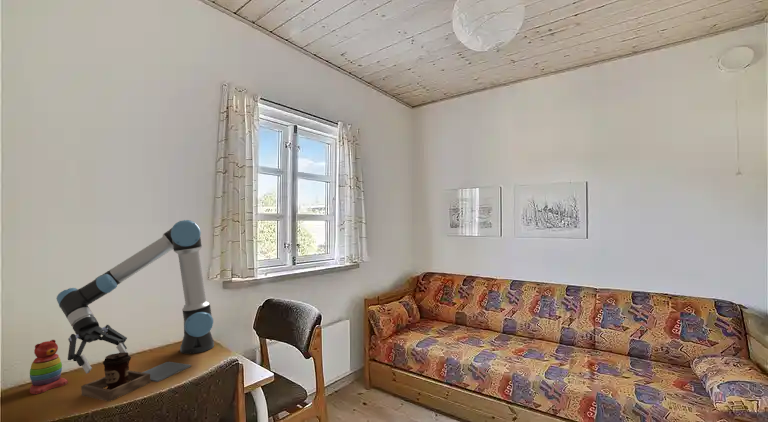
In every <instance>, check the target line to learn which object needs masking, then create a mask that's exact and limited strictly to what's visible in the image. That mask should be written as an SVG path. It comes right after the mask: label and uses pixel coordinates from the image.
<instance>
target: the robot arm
mask: <svg viewBox="0 0 768 422" xmlns="http://www.w3.org/2000/svg"><path fill="white" fill-rule="evenodd" d="M201 234H202V232H201V228H200V226H199V225H198V224H197V223H196V222H195V221H193V220H189V219H184V220H179V221H178V222H176V223H175V224H174V225H172V227H171V228H170V229H169V230H167V231H166V232H164V233H162V237H160V238H158V239H156V241H154V242H152V243H151V244H148V246H146V247H144V248H142V249H141V250H139V251H137V252H136V253H134V254H133V255H131V256H130V257H128V258H126V259H125V260H123V261H121V262H120V263H119V264H117V265H115V266H114V267H112V268H110V269H108V270H107V271H106V272H104V273H102V274H101V275H99V276H97V277H95V279H94V280H92V281H90V282H89V283H87V284H85V285H84V286H82V287H80V288H76V287H69V288H66V289H63V290H61V292H59V293H58V294H57V295H56V302H57V304H58V306H59V308H60V309H61V311H62V313H63V315H64V316H65V317H66V319H67V321H68V322H69V324H70V326H71V328H72V330H73V331H74V333H75V334H74V333H71V334H70V336H69V337H68V339H67V340H68V342H69V347H68V354H67V360H68V361H73V362H76V363H77V365H78V366H79V367H82V369H83V371H84V373H85V374H89V373H90V372H91V371H92V369H93V367H92V366H91V364H90V363H89V361H88V359H87V357H86V356H85V354H83V351H84V349H85V346H86V344H87V343H92V342H96V341H98V340H99V341H104V342H107V343H110V344H113V345H115V346H116V349H117V351H118V353H123V352H127V353H128V355H129V356H130V353H129V352H128V350H127V349H128V348H127V346H126V344H125V342H126V341H127V340H128V337H127V336H125V335H123V334H122V333H120V332H119V331H117V330H115V329H113V328H112V327H111V326H110V325H109V324H106V325H105V326H104V327H101V326H100V324H99V322H98V320H97V318H96V317H95V315H94V313H93V312H92V310H91V309H90V307H89V305H90V304H93V303H94V302H95V301H97V300H99V299H100V298H102V297H104V296H105V295H107V294H109V293H112V291H114V290H115V289H117V287H118V285H120V284H121V283H123V282H125V281H126V280H127V279H129V278H131V277H132V276H133V275H135V274H137V273H138V272H139V271H141V270H143V269H144V268H146V267H148V266H150V265H151V264H153V263H154V262H155V261H157V260H159V259H160V258H162V257H164V256H165V255H166V254H167V253H169V252H171V251H172V250H173V252H174V253H176V254H177V256H178V263H179V270H180V276H181V284H182V289H183V290H182V291H183V295H184V296H183V299H184V303H185V304H184V305H183V307H182V316H183V337H182V340H181V341H182V342H181V344H180V347H179V349H180V350H179V351H180V353H181V354H187V355H191V354H192V355H193V354H199V353H203V352H206V351H209V350H212V349H213V348H215V347H214V346H215V340H214V338H213V336H212V333H211V330H212V329H213V325H214V318H213V314H212V309H211V308H212V307H211V303H210V302H209V301H207V300H206V292H205V286H204V277H203V272H202V264H201V258H200V257H201V256H200V250H201V249H202V247H203V246H202V239H201ZM77 340H80V341H81V343H80V344H79V347H78V349H77V351H76V346H77ZM75 352H76V353H75Z"/></svg>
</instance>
